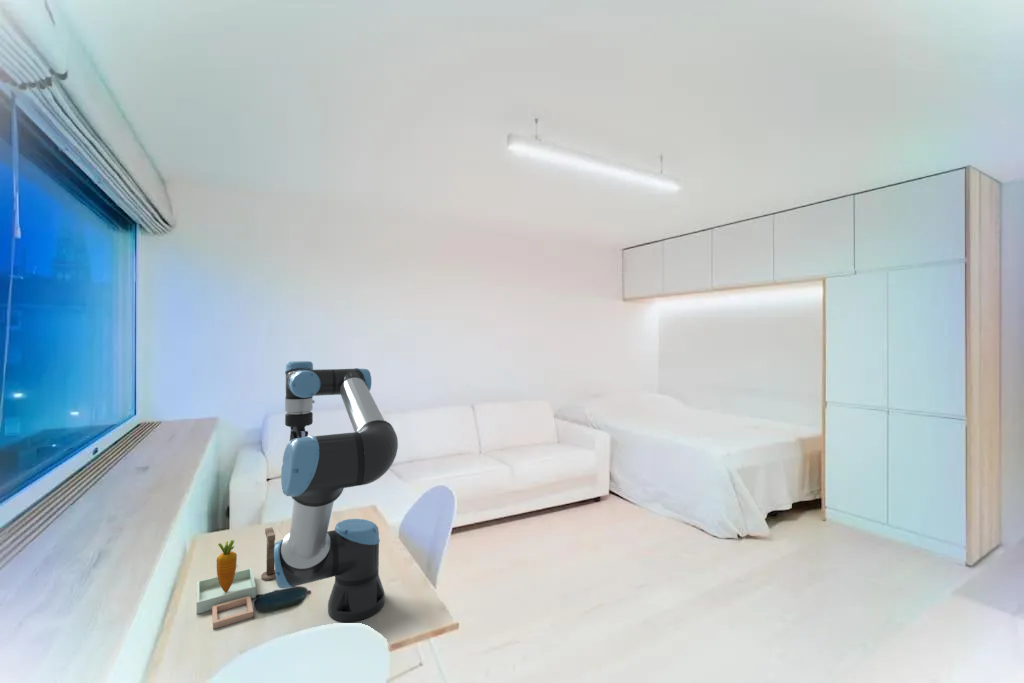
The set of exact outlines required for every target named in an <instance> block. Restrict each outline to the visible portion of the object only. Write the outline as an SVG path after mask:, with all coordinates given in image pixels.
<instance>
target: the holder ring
mask: <svg viewBox="0 0 1024 683" xmlns="http://www.w3.org/2000/svg"><path fill="white" fill-rule="evenodd" d="M242 605H246V609H247V611H243V612H240V613H236V614H233V615H230V616H226V617H223V618H219V619H218V612H221V611H225V610H228V609H232V608H235V607H239V606H242ZM211 612H212V615H211V617H212V629H213V630H215V629H218V628H221V627H224V626H229V625H231V624H234V623H237V622H241V621H244V620H248V619H250V618H253V617H254V608H253V604H252V598H251V597H250V596H246V597H243V598H239V599H236V600H232V601H228V602H225V603H221V604H218V605H214V606H212V610H211Z"/></svg>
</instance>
